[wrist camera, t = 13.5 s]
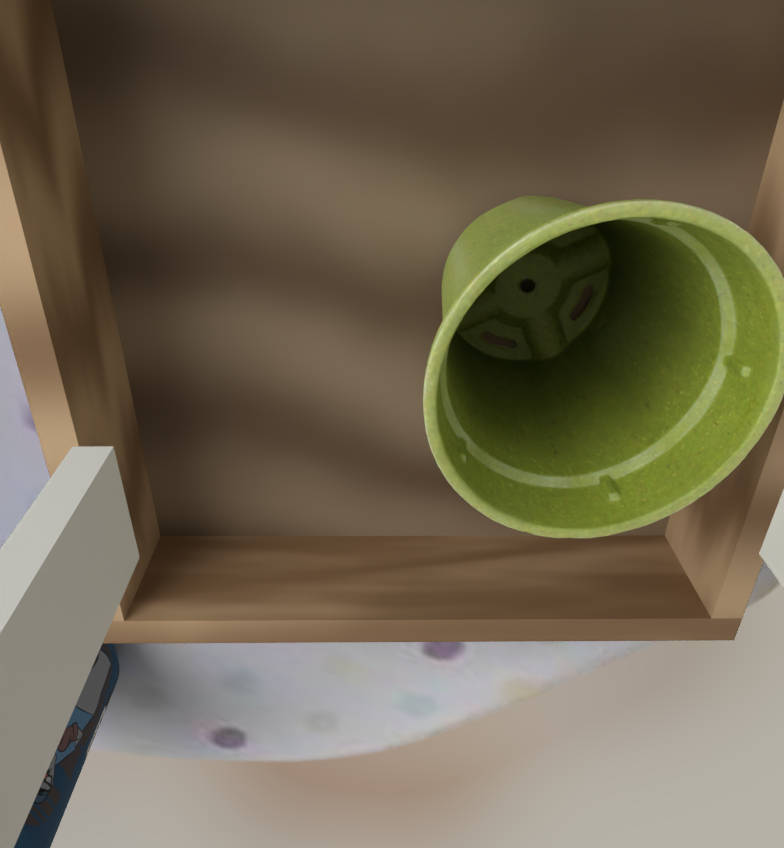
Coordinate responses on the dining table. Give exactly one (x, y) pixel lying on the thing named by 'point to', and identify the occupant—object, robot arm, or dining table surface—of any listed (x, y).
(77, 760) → the soda can
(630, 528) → the plant pot
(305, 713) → the dining table surface
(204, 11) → the wooden tray
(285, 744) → the dining table surface
